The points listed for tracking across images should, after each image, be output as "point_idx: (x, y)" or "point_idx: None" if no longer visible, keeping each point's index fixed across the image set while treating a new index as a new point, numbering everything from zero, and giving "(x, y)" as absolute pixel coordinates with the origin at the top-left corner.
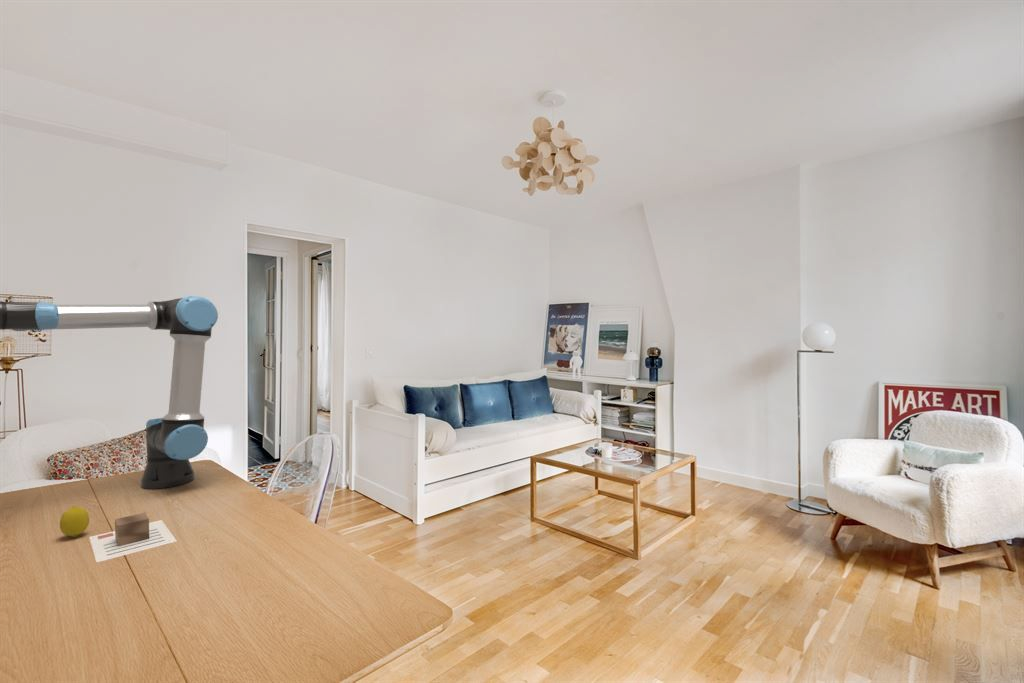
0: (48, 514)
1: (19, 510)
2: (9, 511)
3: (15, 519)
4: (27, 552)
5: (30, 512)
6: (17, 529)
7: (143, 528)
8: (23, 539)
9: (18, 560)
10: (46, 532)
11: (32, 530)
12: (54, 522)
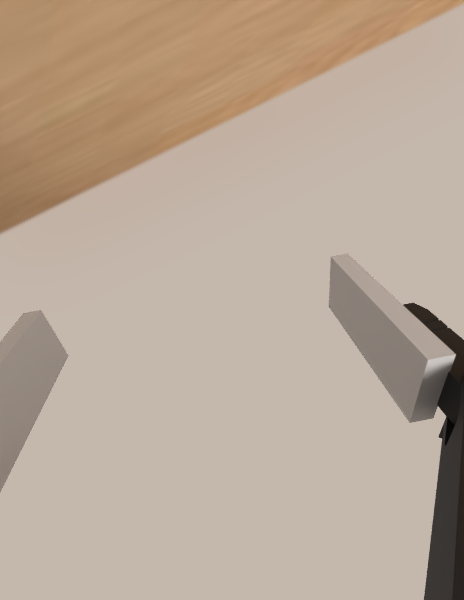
0: (65, 101)
1: (14, 202)
2: (19, 222)
3: (90, 173)
4: (372, 8)
5: (36, 164)
6: (175, 127)
7: None
8: (263, 70)
9: (417, 5)
10: (232, 27)
11: (198, 80)
12: (148, 44)
